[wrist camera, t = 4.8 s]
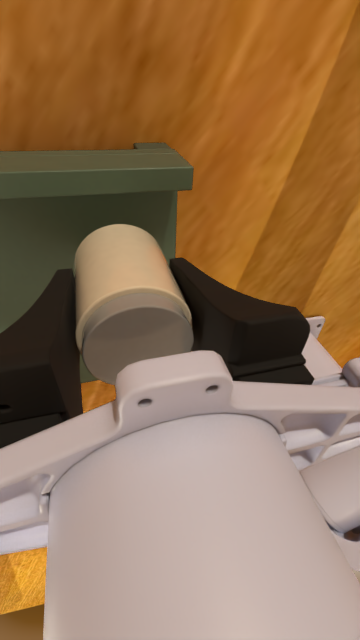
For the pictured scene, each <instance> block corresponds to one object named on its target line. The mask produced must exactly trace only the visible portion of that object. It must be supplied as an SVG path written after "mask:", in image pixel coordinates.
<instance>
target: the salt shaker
mask: <svg viewBox="0 0 360 640" xmlns="http://www.w3.org/2000/svg"><path fill="white" fill-rule="evenodd" d="M74 289H75V339H76V344H77V347H78V350H79V351H80V353H81V355H82V358H83V362H84V364H85V366H86V368H87V369H88V371H89V372H90V373H91V374H92V375H93V376H94V377H96V378H97V379H99V380H101V381H103V382H105V383H108V384H111V385H115V382H116V378H117V374H118V373H119V372H120V371H122V370H123V369H124V368H125V367H126V366H127V365H129V364H132V363H135V362H138V361H140V360H146V359H152V358H158V357H164V356H169V355H175V354H181V353H187V352H191V350H192V347H193V342H194V334H193V330H192V315H191V312H190V309H189V307H188V305H187V303H186V301H185V299H184V297H183V294H182V292H181V290H180V288H179V286H178V284H177V282H176V279H175V277H174V275H173V273H172V271H171V269H170V267H169V264H168V262H167V260H166V258H165V256H164V254H163V252H162V249H161V247H160V246H159V244H158V242H157V241H156V240H155V238H154V237H153V236H151V235H150V234H149V233H148V232H146V231H144V230H143V229H141V228H138V227H136V226H132V225H126V224H114V225H108V226H105V227H102V228H99V229H97V230H95V231H94V232H92V233H91V234H89V235H88V236H87V237H86V238H85V239H84V240H83V241H82V243H81V244H80V245H79V247H78V249H77V251H76V254H75V258H74Z"/></svg>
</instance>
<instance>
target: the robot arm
mask: <svg viewBox="0 0 360 640" xmlns="http://www.w3.org/2000/svg"><path fill="white" fill-rule="evenodd" d="M169 267H170V269H171V271H172V273H173V275H174V277H175V279H176V282H177V284H178V286H179V288H180V290H181V292H182V294H183V297H184V299H185V301H186V303H187V305H188V307H189V309H190V312H191V315H192V330H193V334H194V342H193V347H192V350H191V351H192V352H187V353H181V354H175V355H169V356H164V357H158V358H152V359H146V360H140V361H138V362H135V363H132V364H129V365H127V366H126V367H125V368H124V369H123V370H122V371H120V372H119V373H118V374H117V378H116V382H115V388H116V399H115V400H114V401H112V402H109V403H107V404H105V405H102V406H100V407H98V408H95V409H93V410H90V411H88V412H86V413H83V408H82V395H81V381H80V351H79V350H78V347H77V344H76V339H75V289H74V274H73V270H72V268H69V269H59V270H57V271H56V272H55V274H54V276H53V277H52V279H51V281H50V282H49V284H48V285H47V287H46V288H45V290H44V291H43V292H42V294H41V295H40V296H39V298H38V299H37V300H36V301H35V303H34V304H33V305H32V306H31V307H30V308H29V310H28V311H27V312H26V313H25V314H24V315H22V316H21V317H20V318H19V319H18V320H17V321H16V322H14V323H13V324H12V325H11V326H9V327H8V328H7V329H5V330H4V331H3V332H1V333H0V555H3V554H9V553H15V552H20V551H26V550H32V549H37V548H43V547H47V566H46V588H45V610H44V632H43V640H360V584H359V581H358V580H357V578H356V576H355V574H354V572H353V570H352V569H354V570H356V571H359V572H360V357H358V358H354V359H351V360H350V361H348V362H347V363H346V364H345V366H344V367H343V369H342V368H341V367H340V366H339V365H338V364H337V362H336V361H335V360H334V359H333V358H332V357H331V355H330V354H329V353H328V352H327V351H326V350H325V348H324V347H323V346H322V345H321V344H320V343H319V341H318V340H317V337H318V335H319V333H320V331H321V329H322V326H323V324H324V322H325V318H324V317H323V316H317V317H311V318H305V317H304V316H303V315H302V314H301V313H300V312H299V310H298V309H297V308H296V307H291V306H285V305H280V304H275V303H270V302H267V301H263V300H259V299H256V298H253V297H250V296H247V295H245V294H242V293H240V292H237V291H235V290H233V289H231V288H229V287H227V286H225V285H223V284H221V283H219V282H218V281H216V280H214V279H213V278H211V277H209V276H208V275H206V274H205V273H203V272H202V271H201V270H199V269H198V268H196V267H195V266H194V265H192V264H191V263H189V262H188V261H187V260H185V259H184V258H172V259H170V263H169Z"/></svg>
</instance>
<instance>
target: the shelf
mask: <svg viewBox="0 0 360 640" xmlns="http://www.w3.org/2000/svg"><path fill="white" fill-rule="evenodd" d="M192 183H193V166H192V165H190V164H189V163H188V162H187V161H186V160H185V159H184V158H183V157H182V156H181V155H180V154H178V152H176V151H175V150H174V149H171V148H170V147H169V146H168V145H167V144H166V143H134V149H130V150H60V151H0V333H1V332H3V331H4V330H5V329H7V328H8V327H9V326H11V325H12V324H13V323H14V322H16V321H17V320H18V319H19V318H20V317H21V316H22V315H24V314H25V313H26V312H27V311H28V310H29V308H30V307H31V306H32V305H33V304H34V303H35V301H36V300H37V299H38V298H39V296H40V295H41V294H42V292H43V291H44V290H45V288H46V287H47V285H48V284H49V282H50V281H51V279H52V277H53V276H54V274H55V272H56V271H57V270H59V269H69V268H72V270H73V274H74V258H75V254H76V251H77V249H78V247H79V245H80V244H81V243H82V241H83V240H84V239H85V238H86V237H87V236H88V235H89V234H91V233H92V232H94V231H95V230H97V229H99V228H102V227H105V226H108V225H114V224H126V225H132V226H136V227H138V228H141V229H143V230H144V231H146V232H148V233H149V234H150V235H151V236H153V237H154V238H155V240H156V241H157V242H158V244H159V246H160V247H161V249H162V252H163V254H164V256H165V258H166V260H167V262H168V264H169V263H170V259H172V258H175V249H176V220H177V191H183V190H192ZM96 380H99V379H97V378H96V377H94V376H93V375H92V374H91V373H90V372H89V371H88V369H87V368H86V366H85V364H84V362H83V358H82V355H81V353H80V381H81V383H85V382H91V381H96Z"/></svg>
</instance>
